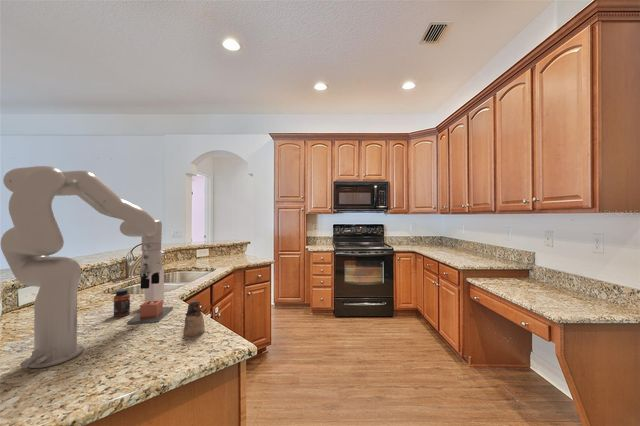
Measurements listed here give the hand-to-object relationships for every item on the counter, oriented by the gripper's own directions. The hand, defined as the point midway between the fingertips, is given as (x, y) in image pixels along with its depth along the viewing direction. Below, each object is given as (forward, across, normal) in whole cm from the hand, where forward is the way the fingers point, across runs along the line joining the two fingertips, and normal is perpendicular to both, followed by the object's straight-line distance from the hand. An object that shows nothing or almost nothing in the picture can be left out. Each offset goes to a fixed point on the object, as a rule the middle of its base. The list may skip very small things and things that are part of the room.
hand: (150, 285), depth 115 cm
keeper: (+14, +1, 0) cm, 14 cm away
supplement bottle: (+14, +5, +14) cm, 20 cm away
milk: (+13, +18, +6) cm, 23 cm away
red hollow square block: (+13, +1, 0) cm, 13 cm away
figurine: (+14, -21, -24) cm, 35 cm away
